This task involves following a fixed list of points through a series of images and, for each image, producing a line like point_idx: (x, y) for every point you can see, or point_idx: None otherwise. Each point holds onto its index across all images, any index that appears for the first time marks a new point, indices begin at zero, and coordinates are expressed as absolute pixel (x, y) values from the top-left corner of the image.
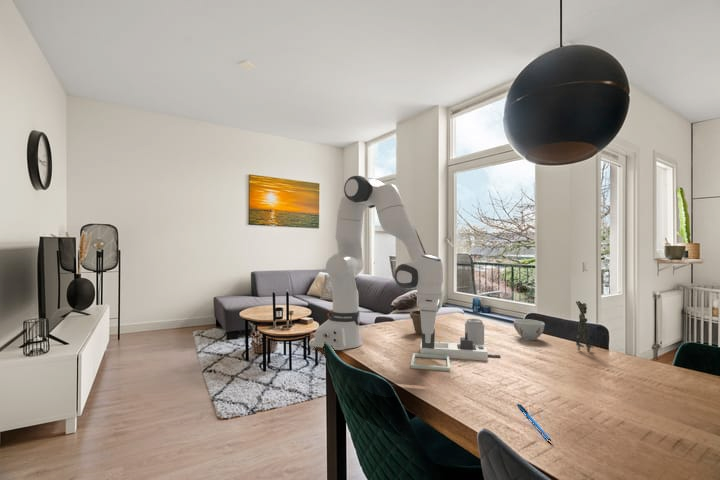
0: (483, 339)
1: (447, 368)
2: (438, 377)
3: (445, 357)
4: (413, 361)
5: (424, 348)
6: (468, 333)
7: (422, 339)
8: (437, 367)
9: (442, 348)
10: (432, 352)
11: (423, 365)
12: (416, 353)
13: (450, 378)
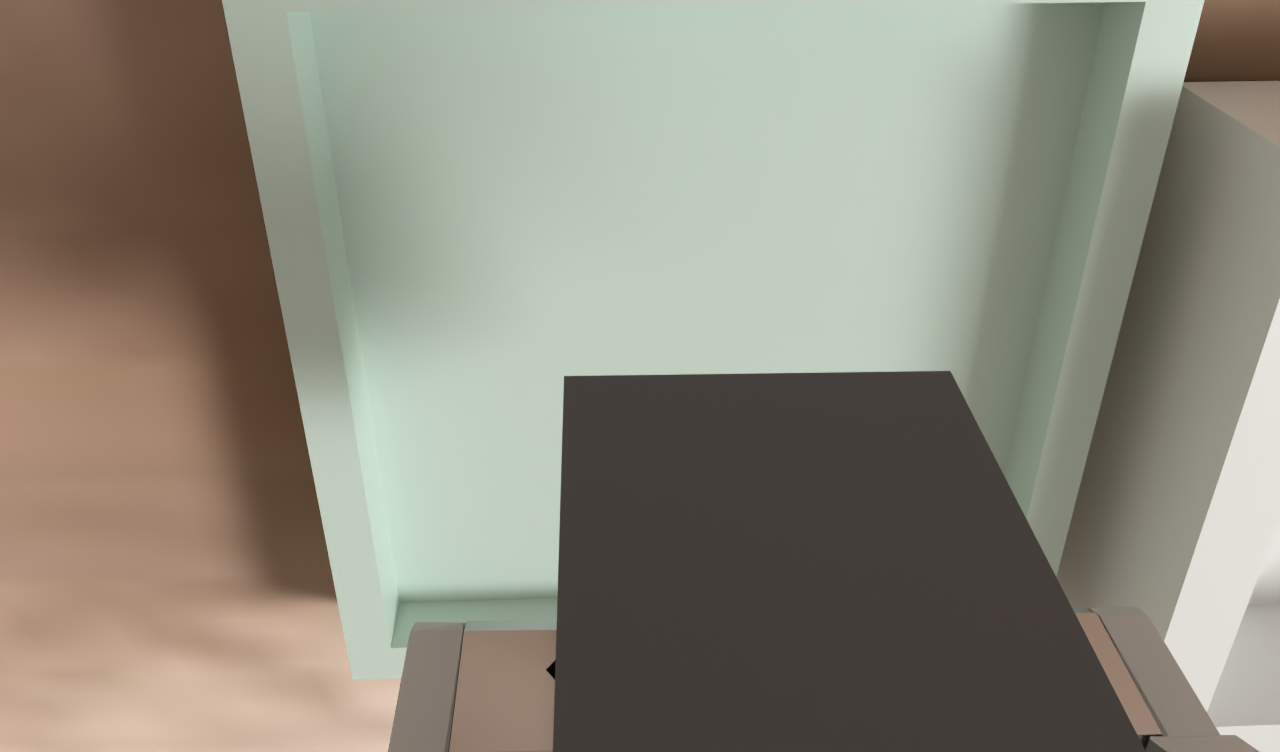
0: None
1: (348, 637)
2: (131, 459)
3: None
4: (501, 6)
5: (1270, 279)
6: None
7: (564, 570)
8: (320, 501)
9: (1199, 641)
10: (1176, 407)
11: (291, 259)
12: (1189, 32)
13: (176, 610)
